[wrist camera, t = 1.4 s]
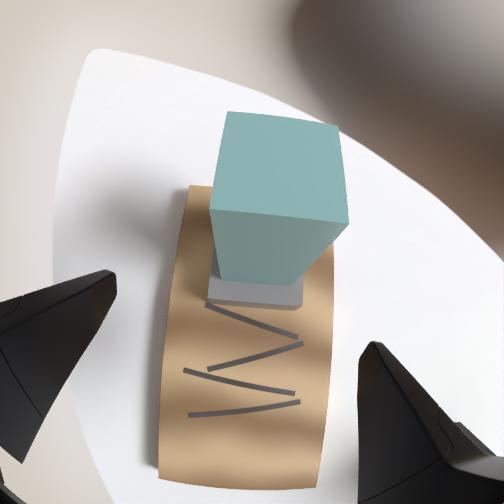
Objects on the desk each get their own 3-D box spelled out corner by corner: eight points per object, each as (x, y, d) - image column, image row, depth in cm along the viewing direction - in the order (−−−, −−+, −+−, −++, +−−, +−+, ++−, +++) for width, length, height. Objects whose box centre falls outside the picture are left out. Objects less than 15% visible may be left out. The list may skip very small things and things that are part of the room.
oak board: (310, 480, 16) (315, 487, 15) (162, 471, 16) (158, 478, 15) (326, 207, 24) (331, 199, 23) (191, 194, 24) (189, 185, 22)
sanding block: (294, 310, 20) (371, 262, 8) (210, 303, 19) (179, 244, 8) (297, 222, 22) (350, 110, 11) (221, 214, 22) (213, 92, 10)
